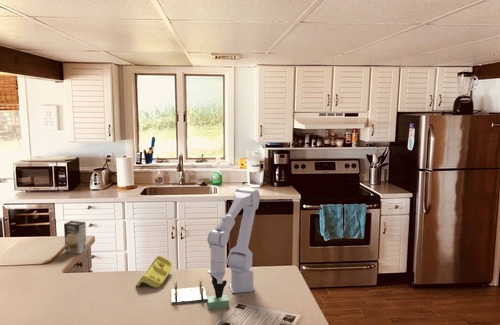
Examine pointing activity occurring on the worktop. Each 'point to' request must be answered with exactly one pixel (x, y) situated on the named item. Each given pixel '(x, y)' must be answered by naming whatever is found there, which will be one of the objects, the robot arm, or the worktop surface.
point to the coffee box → (75, 237)
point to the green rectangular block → (217, 302)
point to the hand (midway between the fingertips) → (217, 293)
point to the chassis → (189, 294)
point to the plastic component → (156, 272)
